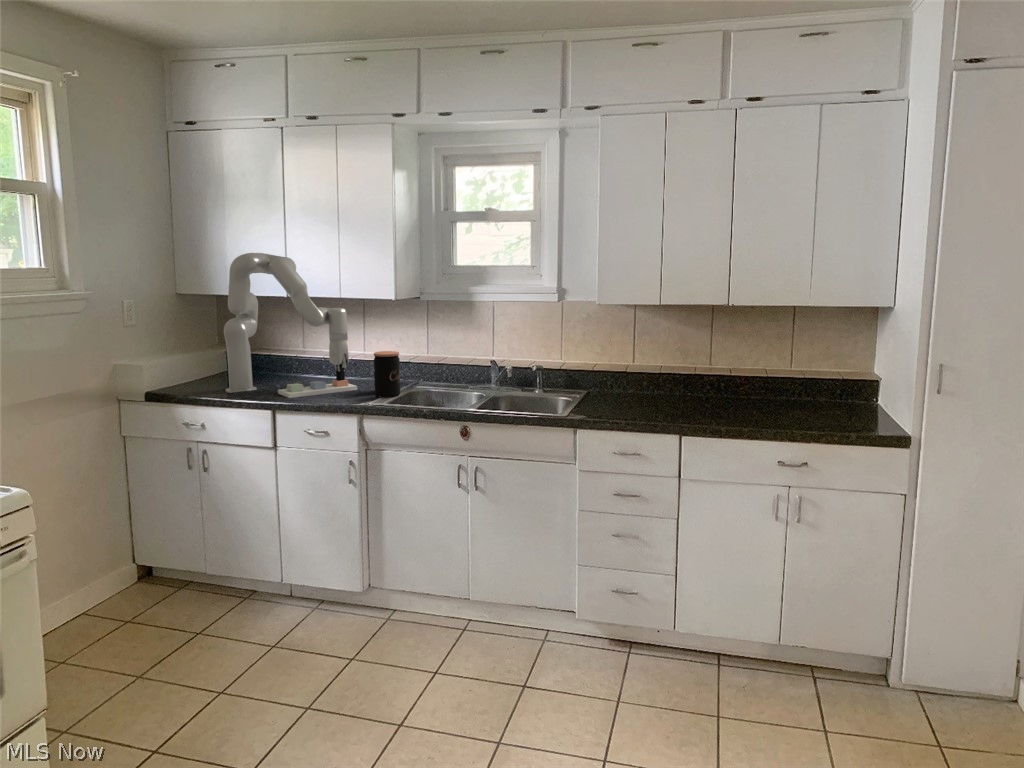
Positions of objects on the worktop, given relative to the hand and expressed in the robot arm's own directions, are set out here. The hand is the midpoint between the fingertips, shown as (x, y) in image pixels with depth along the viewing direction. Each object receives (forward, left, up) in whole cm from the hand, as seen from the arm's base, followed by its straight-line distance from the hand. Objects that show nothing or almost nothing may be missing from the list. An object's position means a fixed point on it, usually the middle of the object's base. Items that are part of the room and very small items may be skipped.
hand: (340, 380), depth 324 cm
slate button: (0, -10, -4) cm, 11 cm away
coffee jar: (+18, +13, -6) cm, 23 cm away
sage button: (0, -20, -4) cm, 21 cm away
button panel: (0, -10, -5) cm, 11 cm away
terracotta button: (0, 0, -4) cm, 4 cm away
